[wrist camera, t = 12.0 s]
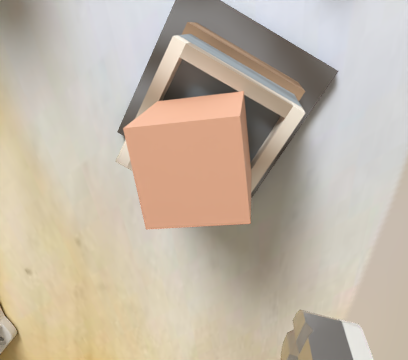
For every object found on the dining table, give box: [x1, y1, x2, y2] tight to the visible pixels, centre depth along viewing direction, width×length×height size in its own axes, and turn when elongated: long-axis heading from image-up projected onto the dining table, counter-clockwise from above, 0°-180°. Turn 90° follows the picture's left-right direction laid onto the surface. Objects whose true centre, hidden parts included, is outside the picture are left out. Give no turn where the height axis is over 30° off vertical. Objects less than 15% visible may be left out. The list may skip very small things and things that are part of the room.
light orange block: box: [123, 91, 251, 229], centre depth 18 cm, size 5×5×6 cm
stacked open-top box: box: [116, 0, 338, 198], centre depth 26 cm, size 14×14×12 cm
